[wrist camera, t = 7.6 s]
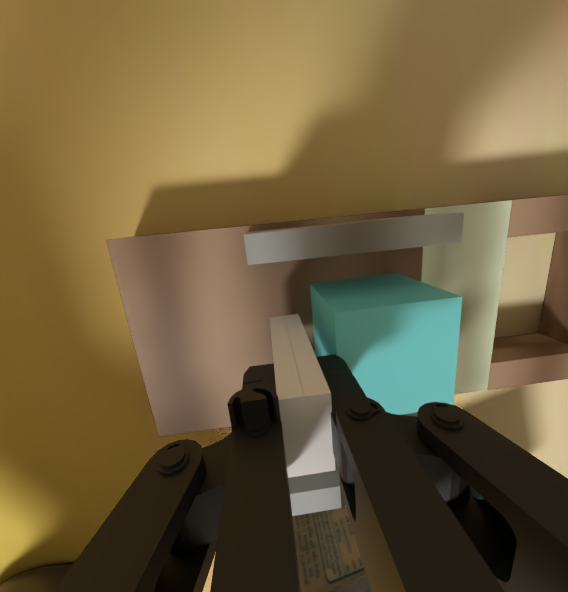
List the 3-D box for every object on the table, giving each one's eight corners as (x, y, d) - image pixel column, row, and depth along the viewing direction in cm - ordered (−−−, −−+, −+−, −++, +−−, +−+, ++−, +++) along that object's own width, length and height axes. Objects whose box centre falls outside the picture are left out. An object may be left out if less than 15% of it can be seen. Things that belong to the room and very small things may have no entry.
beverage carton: (491, 490, 25) (571, 581, 19) (303, 564, 25) (317, 678, 19) (476, 427, 23) (560, 506, 16) (270, 510, 23) (273, 618, 17)
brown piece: (174, 405, 19) (103, 552, 11) (133, 236, 16) (-15, 251, 7) (546, 354, 21) (746, 446, 12) (577, 193, 18) (877, 165, 9)
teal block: (316, 363, 16) (340, 423, 11) (310, 283, 15) (334, 312, 10) (395, 352, 16) (452, 406, 12) (397, 273, 15) (462, 296, 10)
